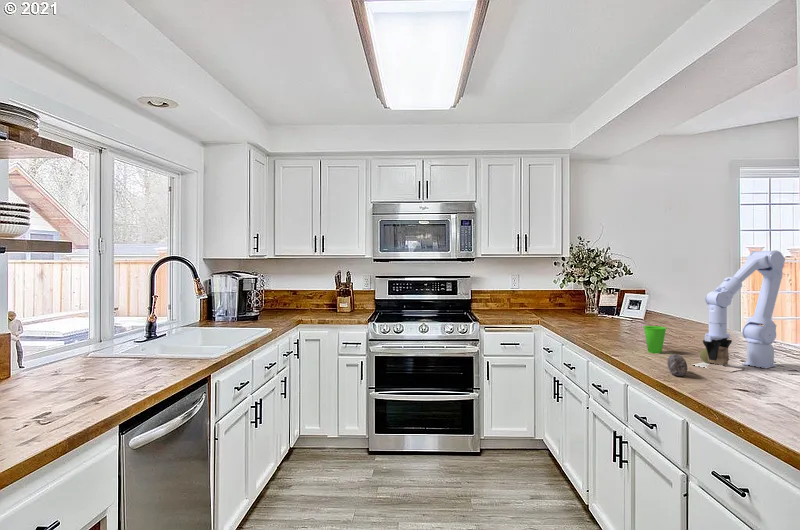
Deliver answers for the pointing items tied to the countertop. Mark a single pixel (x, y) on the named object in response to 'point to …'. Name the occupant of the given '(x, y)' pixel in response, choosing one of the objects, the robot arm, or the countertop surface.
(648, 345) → the cup
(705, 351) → the light bulb
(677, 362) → the perforated stone tool
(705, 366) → the letter
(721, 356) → the walnut block
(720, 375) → the countertop surface
